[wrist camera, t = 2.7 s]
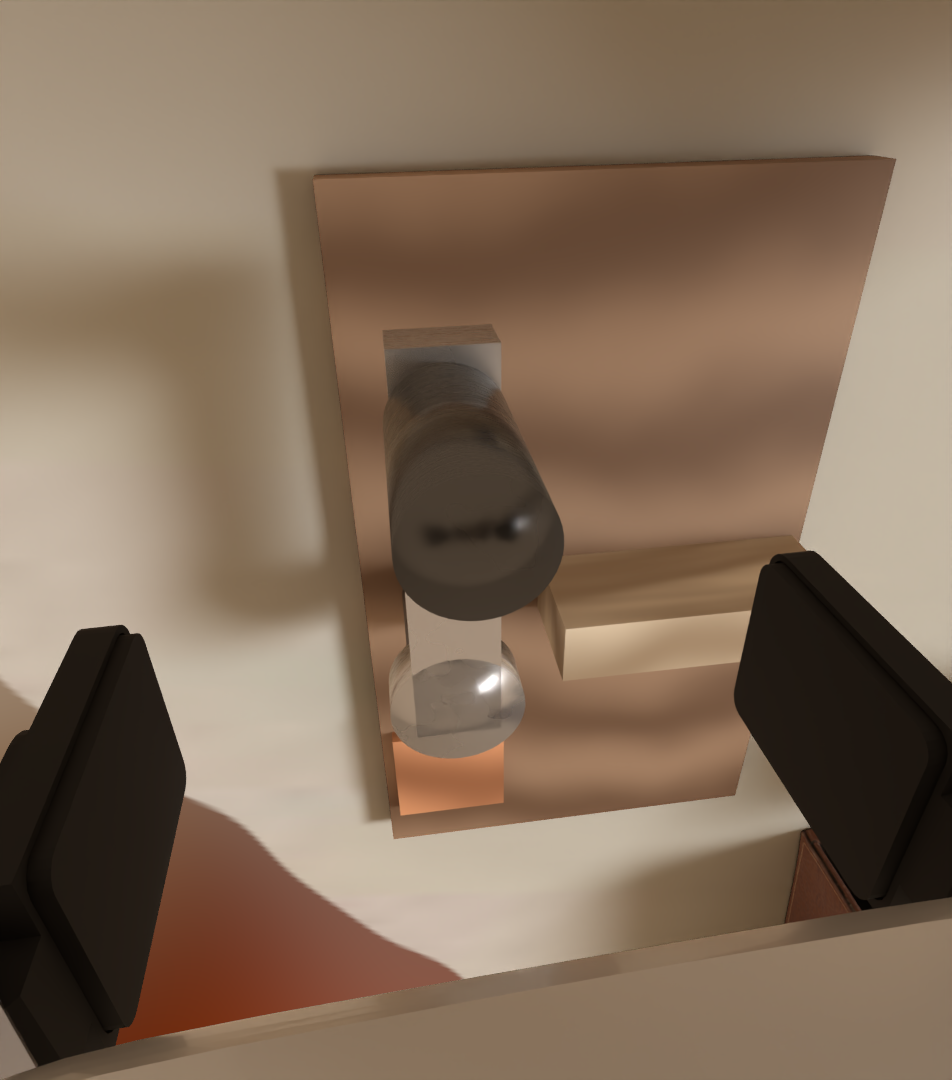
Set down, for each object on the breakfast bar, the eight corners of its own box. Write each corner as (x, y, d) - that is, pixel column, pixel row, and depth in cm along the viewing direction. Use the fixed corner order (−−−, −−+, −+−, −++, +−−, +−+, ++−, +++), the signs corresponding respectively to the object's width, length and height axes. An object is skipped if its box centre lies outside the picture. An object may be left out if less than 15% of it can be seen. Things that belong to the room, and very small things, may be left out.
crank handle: (515, 716, 27) (565, 917, 20) (393, 730, 26) (405, 940, 20) (521, 322, 19) (603, 443, 13) (350, 332, 19) (346, 463, 12)
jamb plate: (314, 175, 22) (302, 201, 17) (873, 155, 24) (1001, 174, 19) (392, 818, 38) (397, 925, 33) (725, 777, 40) (775, 871, 35)
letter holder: (767, 994, 54) (881, 1248, 43) (798, 826, 44) (961, 1103, 32) (896, 966, 55) (1045, 1211, 43) (958, 793, 44) (1178, 1055, 32)
